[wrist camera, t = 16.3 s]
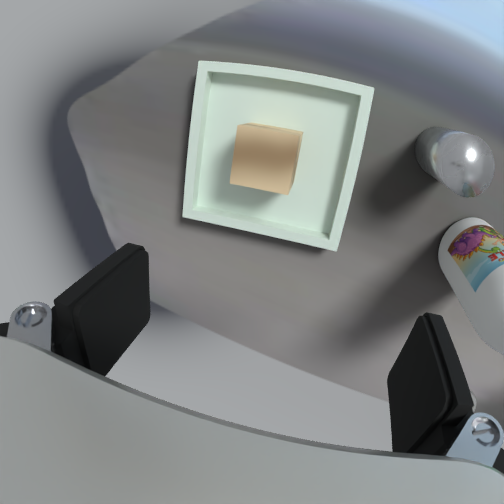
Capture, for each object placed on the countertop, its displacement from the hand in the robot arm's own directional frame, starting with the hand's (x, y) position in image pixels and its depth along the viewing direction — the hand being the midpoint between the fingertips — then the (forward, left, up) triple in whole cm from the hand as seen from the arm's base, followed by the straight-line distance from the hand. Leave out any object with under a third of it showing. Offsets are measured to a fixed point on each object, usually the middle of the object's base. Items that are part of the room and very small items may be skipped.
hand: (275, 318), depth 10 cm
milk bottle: (-3, -19, -24) cm, 31 cm away
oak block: (+2, +4, -22) cm, 23 cm away
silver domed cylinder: (+6, -12, -23) cm, 27 cm away
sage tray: (+2, +4, -23) cm, 24 cm away
